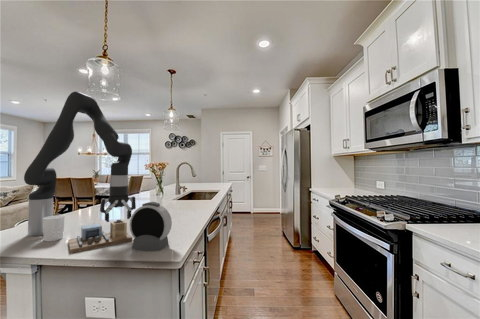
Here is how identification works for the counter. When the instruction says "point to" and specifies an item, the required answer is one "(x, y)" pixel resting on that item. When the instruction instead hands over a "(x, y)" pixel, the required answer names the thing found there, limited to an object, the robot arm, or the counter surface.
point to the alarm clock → (150, 227)
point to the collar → (118, 229)
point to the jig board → (95, 245)
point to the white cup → (53, 227)
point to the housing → (91, 231)
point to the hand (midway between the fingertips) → (118, 220)
